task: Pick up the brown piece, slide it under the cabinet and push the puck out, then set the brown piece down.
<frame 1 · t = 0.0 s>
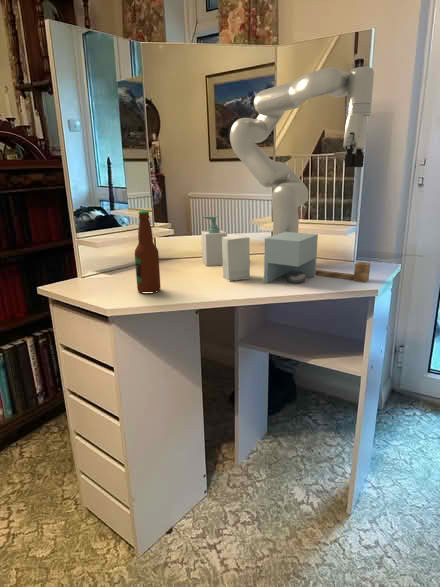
hand: (353, 167, 135), 37 cm above the table, tool pointing down, fingers open, 9 cm apart
bottle: (149, 291, 129), on the table
soap bottle: (214, 263, 166), on the table
puck: (295, 281, 138), on the table
cabinet: (290, 279, 140), on the table
brown piece: (361, 280, 137), on the table
skincare box: (236, 279, 142), on the table
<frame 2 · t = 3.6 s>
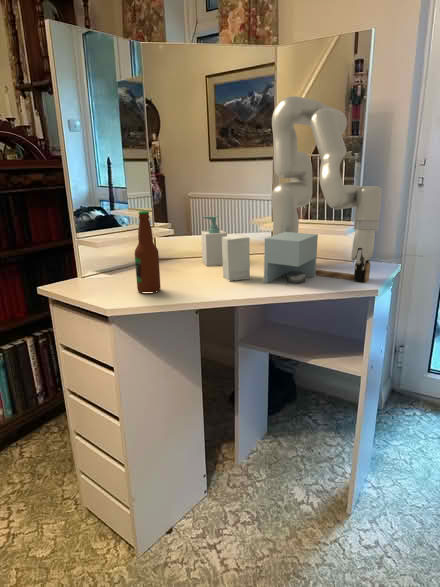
hand: (361, 279, 137), 0 cm above the table, tool pointing down, fingers closed on brown piece, 4 cm apart
brown piece: (361, 280, 137), on the table, touching gripper
everything else where it was.
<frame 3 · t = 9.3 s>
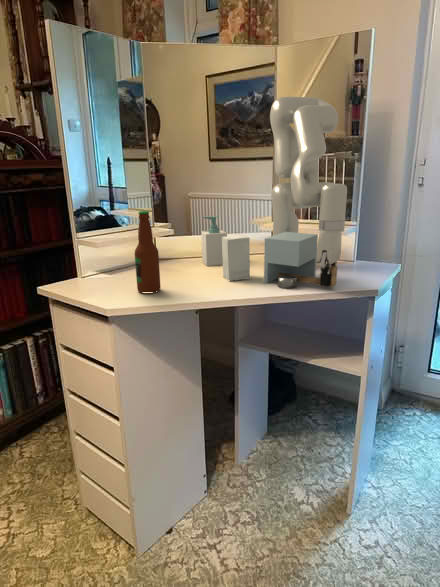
hand: (327, 283, 128), 2 cm above the table, tool pointing down, fingers closed on brown piece, 4 cm apart
puck: (286, 286, 132), on the table
brown piece: (327, 284, 128), point 1 cm above the table, touching gripper
everything else where it was.
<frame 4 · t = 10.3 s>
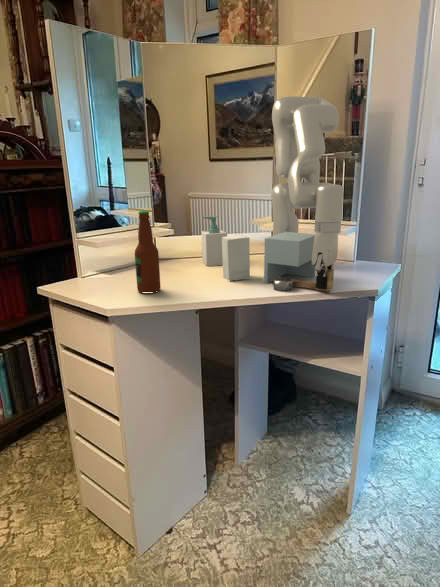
hand: (323, 286, 126), 2 cm above the table, tool pointing down, fingers closed on brown piece, 4 cm apart
puck: (282, 289, 129), on the table
brown piece: (324, 289, 126), point 1 cm above the table, touching gripper
everything else where it was.
when the fingers open (1 cm above the table, at t = 12.0 s): brown piece stays where it is, on the table.
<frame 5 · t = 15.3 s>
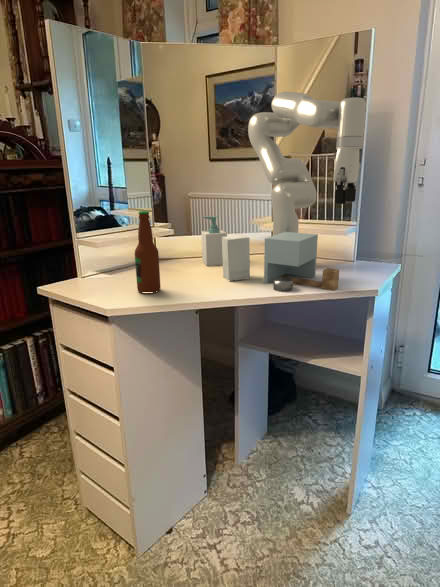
hand: (345, 202, 126), 26 cm above the table, tool pointing down, fingers open, 9 cm apart
brown piece: (329, 288, 129), on the table
everything else where it was.
at the end: puck inside the target area (4.8 cm from its centre), on the table; puck moved 10.5 cm from its start; brown piece on the table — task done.
